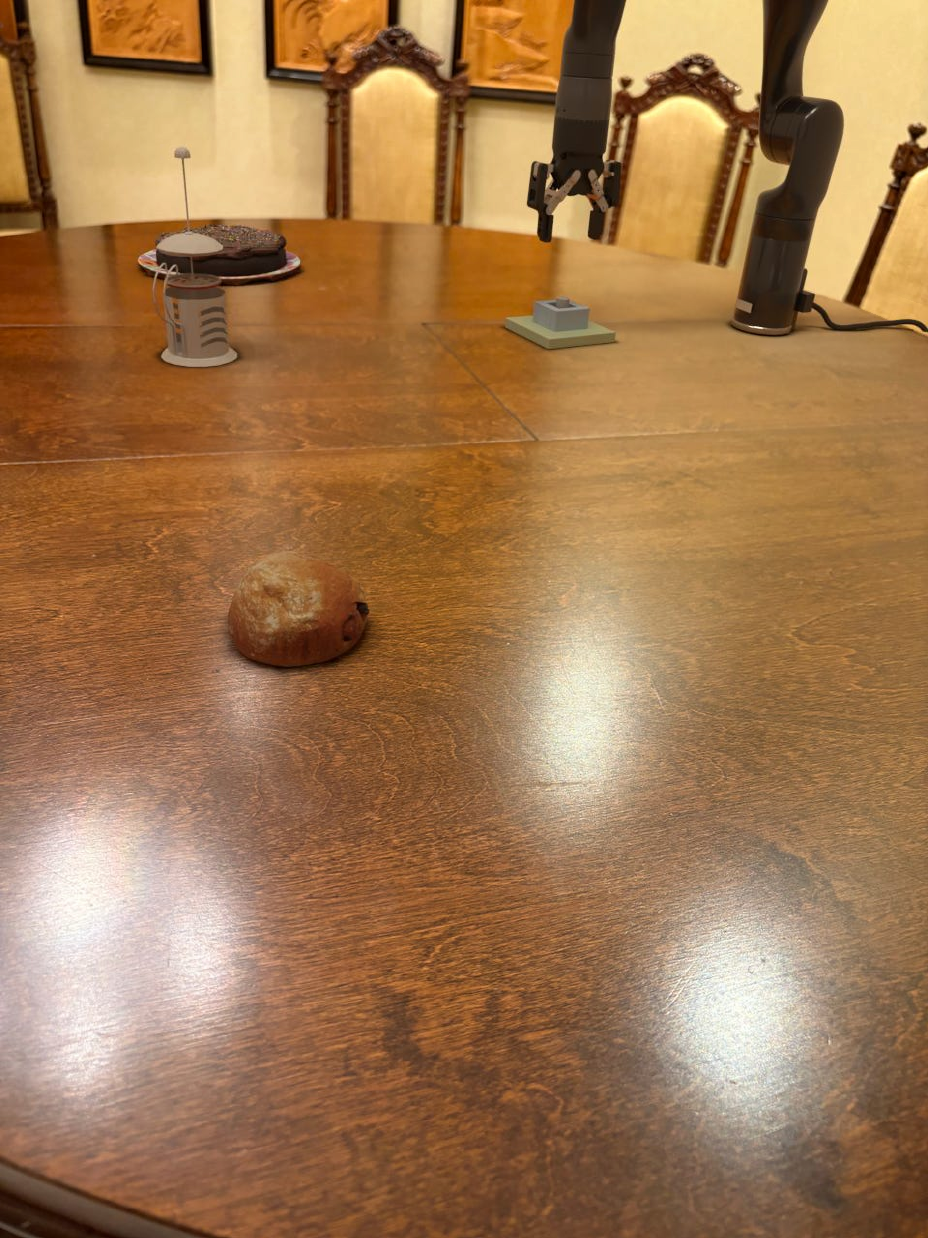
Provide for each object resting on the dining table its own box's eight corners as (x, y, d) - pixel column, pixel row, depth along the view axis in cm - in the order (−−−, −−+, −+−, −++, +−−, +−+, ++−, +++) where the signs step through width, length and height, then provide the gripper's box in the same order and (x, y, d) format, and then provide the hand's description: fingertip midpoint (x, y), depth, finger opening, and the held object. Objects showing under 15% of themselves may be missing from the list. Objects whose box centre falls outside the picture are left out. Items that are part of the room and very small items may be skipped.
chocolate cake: (103, 270, 164) (98, 229, 161) (201, 244, 187) (198, 207, 183) (245, 294, 156) (242, 252, 153) (329, 264, 179) (329, 226, 175)
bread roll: (263, 635, 79) (214, 556, 74) (379, 589, 77) (335, 506, 73) (251, 709, 70) (194, 625, 66) (380, 659, 69) (330, 570, 65)
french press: (252, 352, 130) (240, 147, 117) (197, 375, 121) (178, 155, 108) (193, 340, 134) (175, 139, 120) (135, 361, 125) (109, 146, 111)
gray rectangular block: (564, 318, 150) (567, 298, 148) (587, 328, 146) (590, 308, 144) (532, 321, 147) (534, 301, 146) (554, 331, 143) (556, 311, 141)
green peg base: (568, 321, 154) (573, 285, 151) (614, 342, 146) (619, 304, 143) (504, 327, 149) (507, 290, 146) (548, 349, 140) (552, 310, 137)
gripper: (554, 117, 126) (542, 248, 135) (640, 117, 132) (624, 242, 141) (523, 111, 131) (514, 237, 140) (608, 111, 137) (594, 232, 146)
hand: (569, 239), depth 140 cm, fingers open, 8 cm apart
